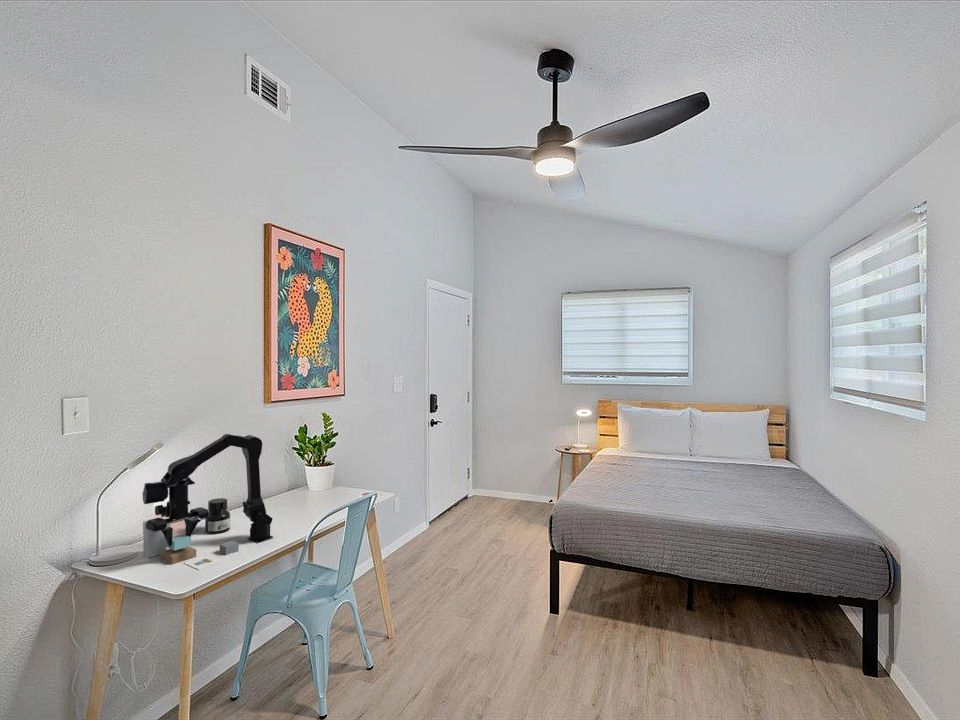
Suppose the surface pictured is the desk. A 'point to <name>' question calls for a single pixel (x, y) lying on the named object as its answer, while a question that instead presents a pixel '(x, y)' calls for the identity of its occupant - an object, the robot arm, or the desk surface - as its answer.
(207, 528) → the ink bottle
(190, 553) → the base block
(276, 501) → the desk surface
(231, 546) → the grey block
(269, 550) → the desk surface
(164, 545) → the skincare box
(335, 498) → the desk surface
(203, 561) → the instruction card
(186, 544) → the teal block
